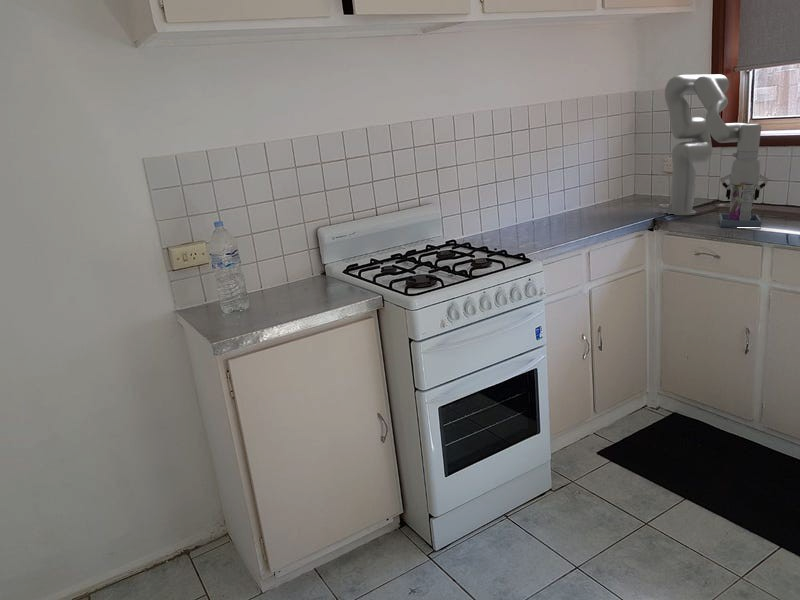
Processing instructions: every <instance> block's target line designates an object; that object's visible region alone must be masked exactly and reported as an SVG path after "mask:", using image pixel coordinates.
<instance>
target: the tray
mask: <svg viewBox="0 0 800 600" xmlns="http://www.w3.org/2000/svg"><path fill="white" fill-rule="evenodd" d="M728 217H729V213H719V216H718V223H719V227H720V228H721V229H738V228H737V227H761V226H762V221H761V218H760V217H759V215H758V214H752V215H751V221H738V220H728ZM761 228H762V227H761Z"/></svg>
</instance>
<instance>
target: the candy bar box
mask: <svg viewBox="0 0 800 600" xmlns="http://www.w3.org/2000/svg"><path fill="white" fill-rule="evenodd" d="M755 190H756V187H755V184H753V183H740V185H733V186H732V187H731V194H730V199H729V200H730V201H729V209H728V210H729V211H728V214H729V217H728V220H738V221H751V215H753V205H754V194H755Z"/></svg>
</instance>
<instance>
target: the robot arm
mask: <svg viewBox="0 0 800 600" xmlns="http://www.w3.org/2000/svg"><path fill="white" fill-rule="evenodd" d="M729 86H730V82H729V79H728V78H727V76H725V75H723V74H718V73H717V74H702V73H701V74H700V73H698V74H678V75H675V76H673V77H671V78H670V79H669V80H668V82H667V83H666V86H665V89H664V100H665V102H666V107H667V109H668V115H669V121H670V122H669V123H670V127H671V129H670V130H671V133H672V136H673V139H676V140H678V141H679V140H680V141H681V140H682V142H679V143H677V144H676V145H675V146H674V147H673V148H672V149H671V150H672V151H671V161H672V163H671V164H672V175H671V187H670V193H671V197H670V198H669V199H670V200H669V203H666V204H664V203H663V204H661V203H659V205H658V209H663V210H665V209H666V210H665V214H666V213H670V214H674V215H673V216H693V215H696V214H697V211H696V210H694V209H693V207H694V205H693V197H694V198H695V194H694V187H695V188H696V170H695V167H694V164H701V163H706V162H708V161H709V160H710V159H711V158H712V153H713V145H712V139H713V140H714V141H715V142H717V143H719V144H723V143H726V144H727V143H737V147H736V148H737V149H736V152H732V157H734V158H735V159H733V162H732V166H731V170H730V173H729V174H726V175H725V176H723V177H720V179H719V180H720V182H721V184H722V187H724V188H725V190H726V192H725V198H727V200H728V201H729V200H731V191H732V186H733V185H740V183H753V184H755V190H754V199H753V201H757V199H759V198H760V191H761V189H764V188H765V186H766V185H767V184H768V182H769V181H770V179H769V178H768V177H766V176H764V175H763V174H760V173H761V172H760V171H761V161H760V159H759V158H758V157H759V149H760V143H761V142H760V141H761V132H762V125H761V124H759V123H745V122H727V123H726V122H724V121H723V119H722V118H721V115H720V113H721V112H722V111H723V110H725V109H726V107H727V106H728V104H729V99H728V97H727V96H726V93H727V91H728V90H729V88H730V87H729ZM684 96H697V97H698V99H699V101H700V103H701V104H702V105H703V107H704V109H705V111H706V116H705V118H704V117H701V116H692V113H691V107H690V104H689V102H688V101H687V99H686V98H685V97H684ZM711 137H712V138H711ZM683 140H685V141H683ZM686 140H691V141H686ZM728 179H729V184H727V183H726V181H725V180H728ZM760 180H763V182H762V183H760ZM759 183H760V184H759ZM670 214H669V215H670Z"/></svg>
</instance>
